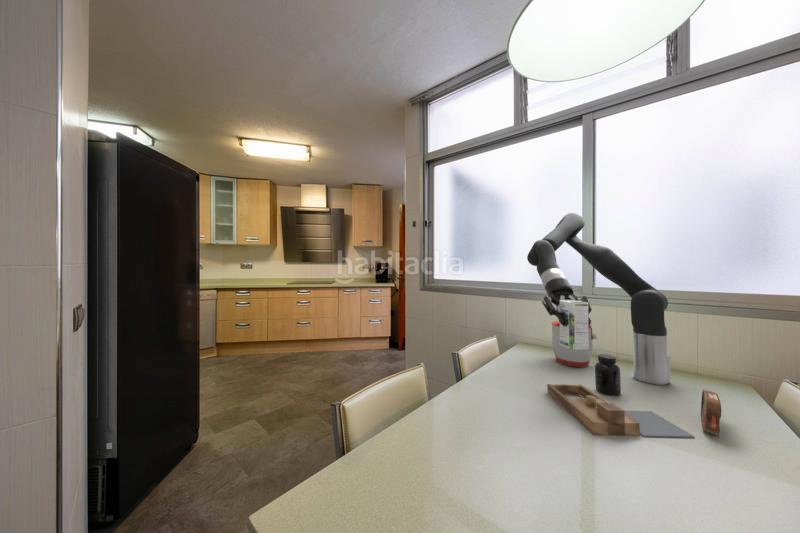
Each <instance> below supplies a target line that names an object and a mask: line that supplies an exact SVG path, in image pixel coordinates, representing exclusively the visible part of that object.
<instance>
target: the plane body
mask: <svg viewBox="0 0 800 533" xmlns="http://www.w3.org/2000/svg"><path fill="white" fill-rule="evenodd" d="M546 388H547V389H546V391H547V392H546V393H547V394H548V395H549V397H551V398H552V399H553V400H554V401H555V402H556V403H558V404H559V406H561V407H562V408H563V409H564V410H566V412H567V413H569V414H570V415H571V417H574V419H575V420H577V422H579V423H580V424H581V425H582V426H583V427H584V428H586V429H587V430H588V432H590V433H591V434H593V436H641V435H640V430H639V423H638V422H637V421H635V420H634V419H632V418H631V417H629V416H628V415H626V414H625V411H626V410H624V409H623V408H621V407H620V406H618V405H617V404H615V403H613V402H608V401H607V400H605V399H604V398H602V397H600V396H599V395H597V394H596V393H594V392H593V391H591V390H590V389H589V388H587V387H586V386H584V385H583V384H570V383H569V384H568V383H567V384H564V383H563V384H561V383H560V384H557V383H556V384H554V383H552V384H551V383H549V384H548V383H547V385H546ZM567 396H581V397H582V398H577V397H576V398H575V397H574V398H571V397H570V398H568V397H567Z"/></svg>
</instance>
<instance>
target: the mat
mask: <svg viewBox="0 0 800 533" xmlns="http://www.w3.org/2000/svg"><path fill="white" fill-rule="evenodd" d="M624 411H625V414H626V415H628V416H629V417H631V418H632V419H634V420H635V421H637V422H638V423H639V430H640V436H642V438H674V439H675V438H679V439H683V438H684V439H695V437H696V436H695V435H693V434H691V433H689V432H688V431H686V430H684V429H683V428H681V427H679V426H677V425H676V424H674V423H672V422H671V421H669V420H667V419H665V418H664V417H662V416H660V415H659V414H657V413H656V412H653V411H652V410H624Z"/></svg>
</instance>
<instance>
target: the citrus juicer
mask: <svg viewBox="0 0 800 533" xmlns="http://www.w3.org/2000/svg"><path fill="white" fill-rule="evenodd" d="M551 334H552V335H551V336H552V337H551V339H552V340H551V342H552V350H553V353H554V357H555V360H556V361H557V362H558V363H560V364H561V363H562V365H564V364H565V365H567V366H572V367H578V368H584V367H587V366H589V364H590V362H591V358H592V354H593V346H594V344H593V343H594V342H593V340H599V337H598V336H597V334H595V333H593V327H592V324H590V325H589V326H588V338H589V342H588V343H589V349H583V350H571V349H569V348H566V347H564V346H561V345H560V322H559V320H558V321H552V322H551Z"/></svg>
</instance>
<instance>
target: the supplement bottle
mask: <svg viewBox="0 0 800 533" xmlns="http://www.w3.org/2000/svg"><path fill="white" fill-rule="evenodd" d="M597 361H598V362H596V363H595V365H594V382H595V384H594V386H595V391H596V392H598V393H599V394H601V395H605V396H610V397H620V396H621V395H622V383H621V382H622V380H621V367H620V366H618V365H617V357H616V356H614V355H611V354H603V353H602V354H601V353H600V354H598V355H597Z"/></svg>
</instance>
